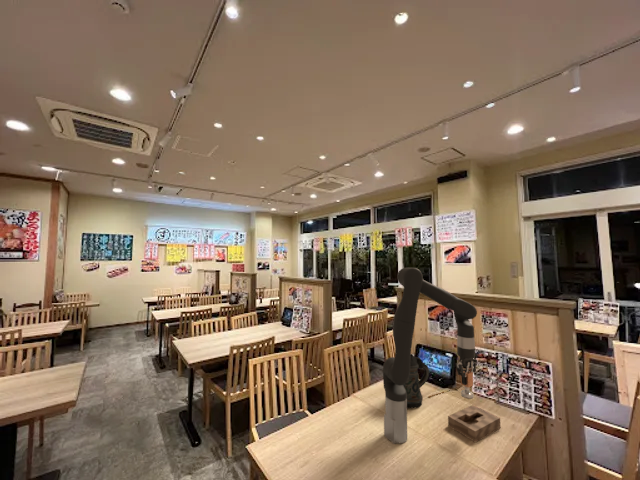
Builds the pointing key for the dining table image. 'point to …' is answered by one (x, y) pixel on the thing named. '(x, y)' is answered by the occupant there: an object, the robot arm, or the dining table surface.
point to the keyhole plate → (474, 422)
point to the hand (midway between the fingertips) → (467, 383)
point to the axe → (435, 394)
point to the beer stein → (415, 382)
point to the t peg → (468, 386)
